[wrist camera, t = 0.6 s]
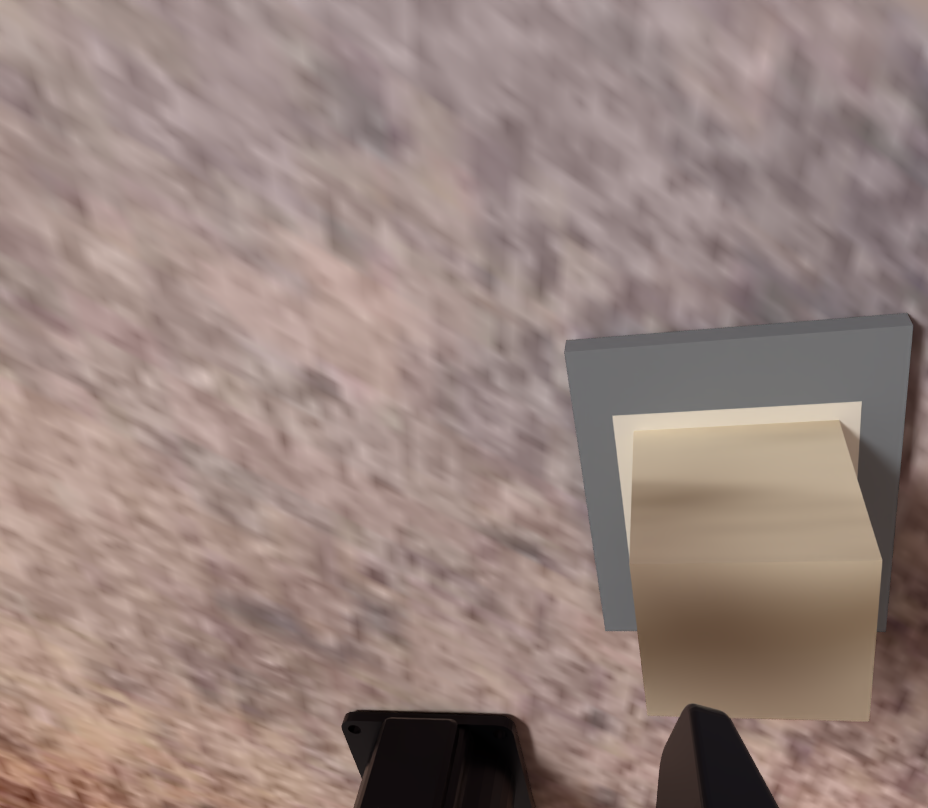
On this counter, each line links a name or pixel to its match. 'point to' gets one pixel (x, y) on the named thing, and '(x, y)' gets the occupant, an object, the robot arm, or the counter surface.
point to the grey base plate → (737, 414)
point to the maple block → (753, 572)
